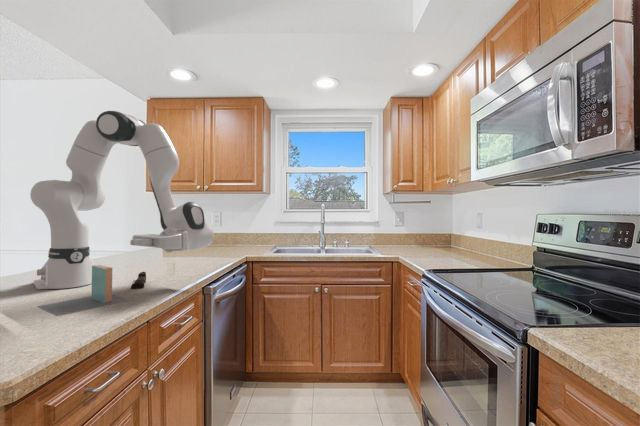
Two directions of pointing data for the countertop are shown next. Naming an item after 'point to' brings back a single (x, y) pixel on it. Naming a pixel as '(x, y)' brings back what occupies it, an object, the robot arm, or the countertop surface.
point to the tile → (101, 283)
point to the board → (78, 305)
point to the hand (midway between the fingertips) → (132, 242)
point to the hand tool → (139, 281)
